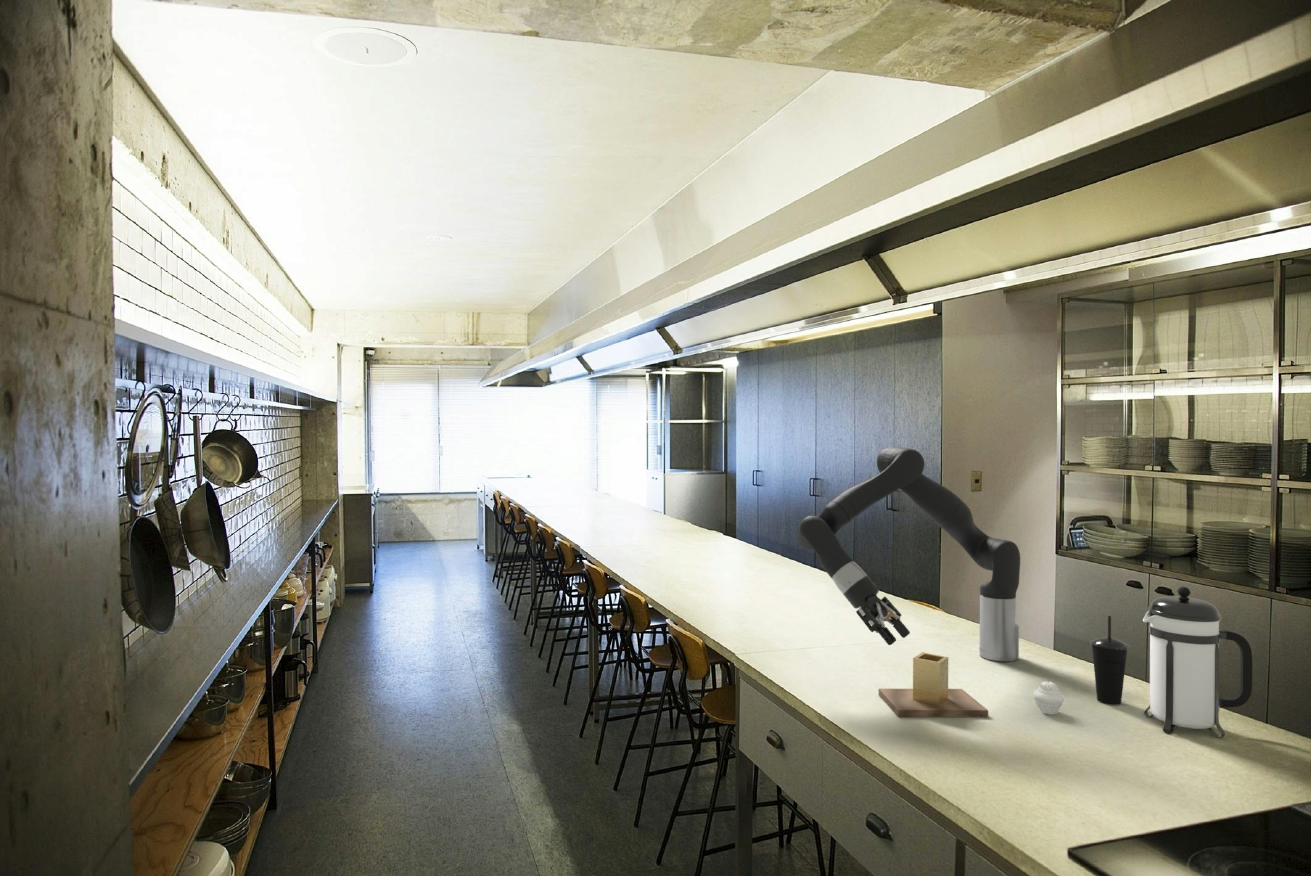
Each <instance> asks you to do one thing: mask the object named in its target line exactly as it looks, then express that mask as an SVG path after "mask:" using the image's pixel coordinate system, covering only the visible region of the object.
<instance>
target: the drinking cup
mask: <svg viewBox="0 0 1311 876" xmlns="http://www.w3.org/2000/svg"><path fill="white" fill-rule="evenodd" d="M1090 645H1091V648H1092V650H1091V651H1092V660H1093V671H1094V679H1095V680H1094V681H1095V690H1096V700H1097V702H1099V703H1102V704H1105V705H1108V706H1109V705H1111V706H1119V705H1121V704H1122V698H1123V692H1124V691H1123V689H1124V682H1125V681H1124V680H1125V673H1126V672H1125V671H1126V663H1127V662H1126V661H1127V655H1128V653H1127V652H1128V649H1129V647H1130V646H1129V644H1128V643H1126V642H1124V641H1122V640H1119V639H1117V638H1113V637H1112V615H1107V636H1105V637H1103V636H1102V637H1097V638H1094V639H1091V640H1090Z"/></svg>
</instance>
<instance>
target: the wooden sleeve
mask: <svg viewBox="0 0 1311 876" xmlns="http://www.w3.org/2000/svg"><path fill="white" fill-rule="evenodd" d="M912 689H913V700H918V701H922V702H926V703H931V704H935V705H941V704H942V703H943V702H944V701H946V700H947V699H948V689H949V657H948V656H943V655H939V654H934V653H933V654H932V653H927V652H921V653H919V654H918V655H916V656H914V657H912Z"/></svg>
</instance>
